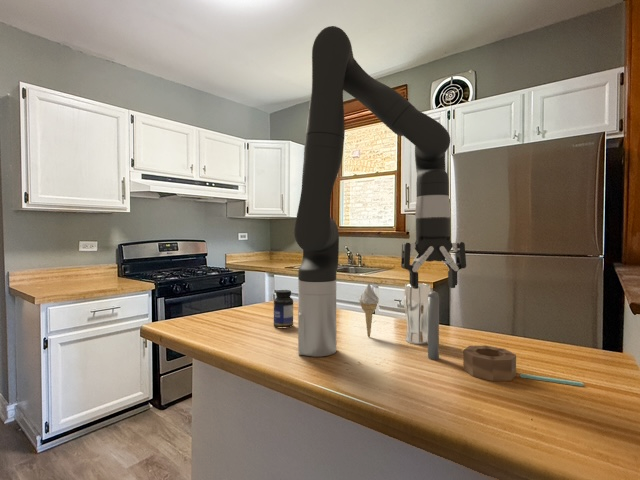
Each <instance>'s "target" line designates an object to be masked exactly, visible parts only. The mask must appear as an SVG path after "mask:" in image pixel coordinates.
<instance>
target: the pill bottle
mask: <svg viewBox="0 0 640 480" xmlns="http://www.w3.org/2000/svg"><path fill="white" fill-rule="evenodd" d="M291 295H292V291H291V290H290V289H277V290H276V291H275V296H276V298H275V299H273V327H274V326H275V327H274V328H276V327H289V328H291V327H290V326H292V325H293V326H294V299H293V298H292V297H291ZM293 326H292V327H293Z"/></svg>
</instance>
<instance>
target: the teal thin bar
mask: <svg viewBox="0 0 640 480" xmlns="http://www.w3.org/2000/svg"><path fill="white" fill-rule="evenodd" d="M519 376H520V378H522V379H524V378H525V379H530V380H538V381H542V382H550V383H557V384H562V385H563V384H565V385H571V386H577V387H584V382H581V381H574V380H567V379H562V378H561V379H560V378H555V377H548V376H540V375H534V374H533V375H532V374H526V373H520V374H519Z"/></svg>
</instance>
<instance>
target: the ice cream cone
mask: <svg viewBox="0 0 640 480" xmlns="http://www.w3.org/2000/svg"><path fill="white" fill-rule="evenodd" d="M358 301H359V303H360V308H361V309H362V311H363V312H364V314H365V325H366V333H367V337H368V338H370V337H371V331H372V323H373V313H374V312H375V311H376V310H377V306H378V304H379V302H380V301H379V297H378V295H377V294H376V293H375V290H373V288H372V287H371V284H370V283H368V284H367V286H366V287H365V289H364V290H363V292H362V293H361V295H360V297H359V298H358Z"/></svg>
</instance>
